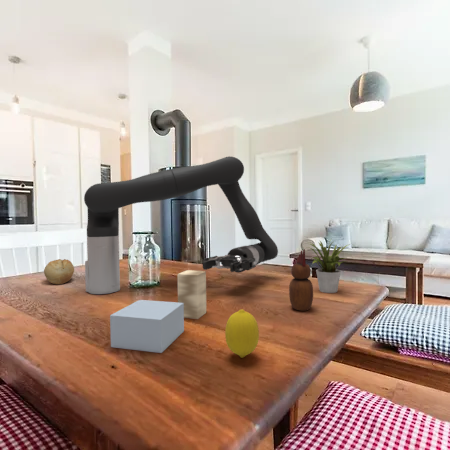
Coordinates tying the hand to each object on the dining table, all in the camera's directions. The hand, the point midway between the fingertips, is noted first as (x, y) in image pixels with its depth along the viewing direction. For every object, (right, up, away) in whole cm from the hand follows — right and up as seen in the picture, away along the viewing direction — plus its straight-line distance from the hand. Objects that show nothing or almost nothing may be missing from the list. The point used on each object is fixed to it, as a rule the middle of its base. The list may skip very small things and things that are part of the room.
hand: (217, 267), depth 81 cm
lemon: (+5, -11, -31) cm, 33 cm away
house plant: (+32, -9, +11) cm, 35 cm away
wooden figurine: (+21, -10, -6) cm, 24 cm away
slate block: (-12, -11, -23) cm, 28 cm away
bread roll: (-58, -10, +29) cm, 66 cm away
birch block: (-6, -10, -9) cm, 15 cm away
